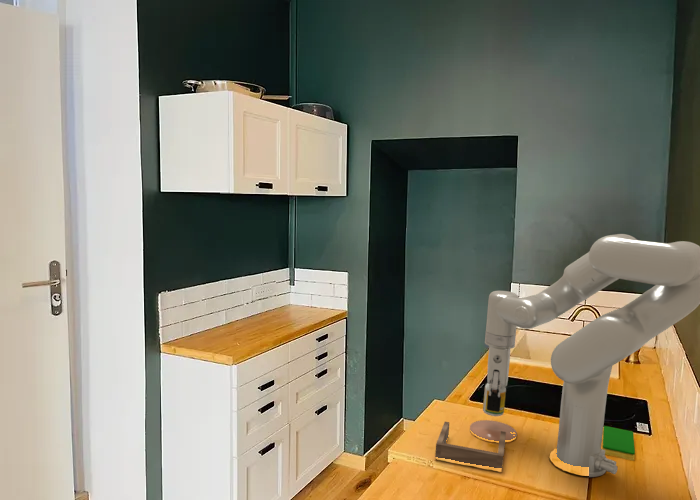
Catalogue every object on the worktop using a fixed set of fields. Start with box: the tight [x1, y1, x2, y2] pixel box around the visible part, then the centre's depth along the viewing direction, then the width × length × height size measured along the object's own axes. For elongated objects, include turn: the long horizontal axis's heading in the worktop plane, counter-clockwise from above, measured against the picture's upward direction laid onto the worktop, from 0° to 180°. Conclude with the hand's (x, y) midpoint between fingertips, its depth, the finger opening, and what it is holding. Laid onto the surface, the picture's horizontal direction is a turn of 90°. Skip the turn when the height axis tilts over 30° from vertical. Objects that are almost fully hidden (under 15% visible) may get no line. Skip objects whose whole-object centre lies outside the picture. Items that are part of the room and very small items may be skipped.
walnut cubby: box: [434, 421, 506, 469], centre depth 136 cm, size 13×15×4 cm
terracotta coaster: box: [469, 419, 518, 441], centre depth 148 cm, size 12×12×1 cm
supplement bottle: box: [482, 381, 507, 417], centre depth 147 cm, size 5×5×10 cm
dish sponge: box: [601, 425, 636, 461], centre depth 143 cm, size 7×14×2 cm, turn 155°
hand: (494, 405), depth 147 cm, fingers closed on supplement bottle, 5 cm apart
